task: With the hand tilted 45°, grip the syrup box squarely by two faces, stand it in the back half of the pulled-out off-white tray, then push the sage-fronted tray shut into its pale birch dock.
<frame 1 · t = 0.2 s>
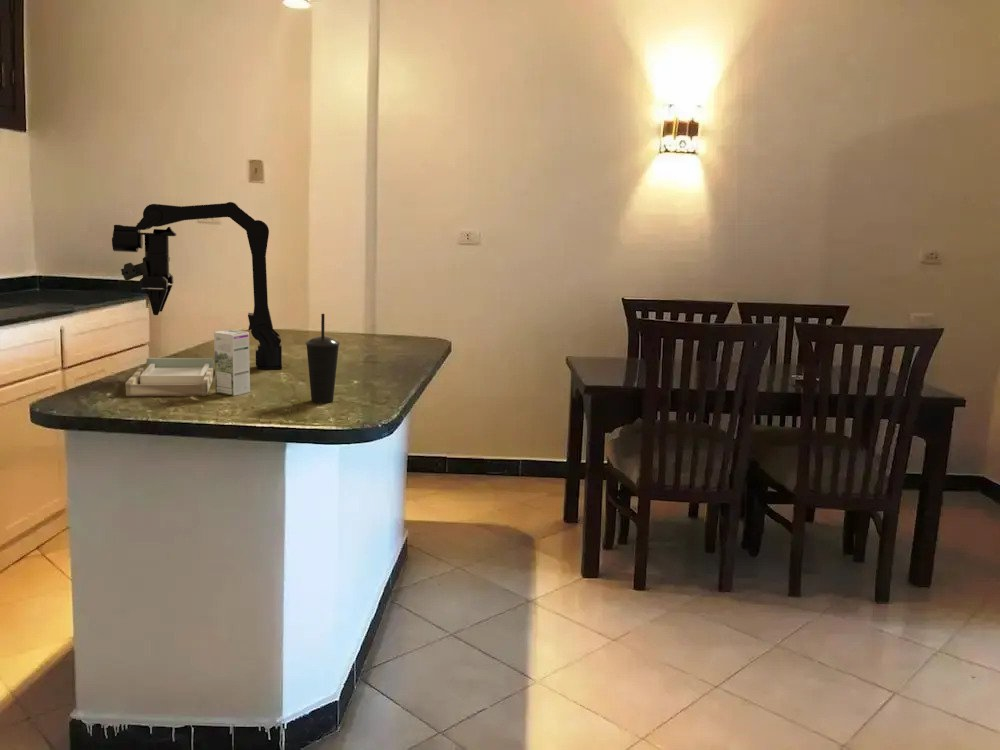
hand: (157, 313, 216), 15 cm above the countertop, tool pointing down, fingers open, 9 cm apart
drinking cup: (322, 402, 188), on the countertop
tray: (176, 370, 203), point 2 cm above the countertop, slide at 8.0 cm
dock: (172, 386, 196), on the countertop
syrup box: (232, 393, 192), on the countertop
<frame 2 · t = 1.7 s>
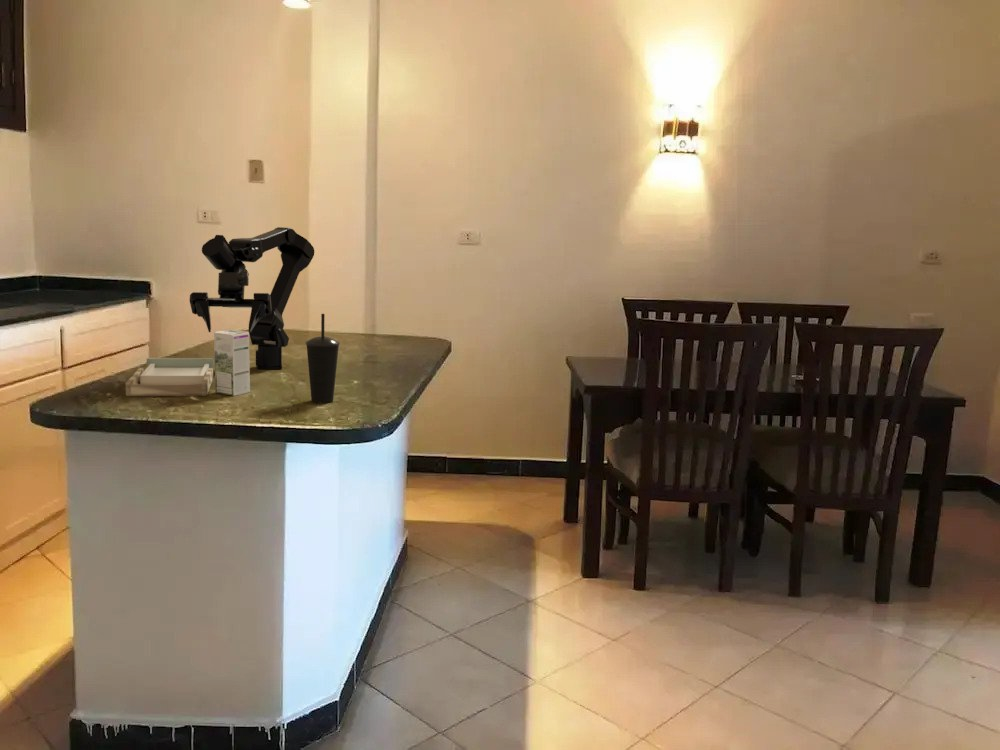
hand: (229, 331, 197), 13 cm above the countertop, tool tilted 45°, fingers open, 9 cm apart
nothing on the countertop moved.
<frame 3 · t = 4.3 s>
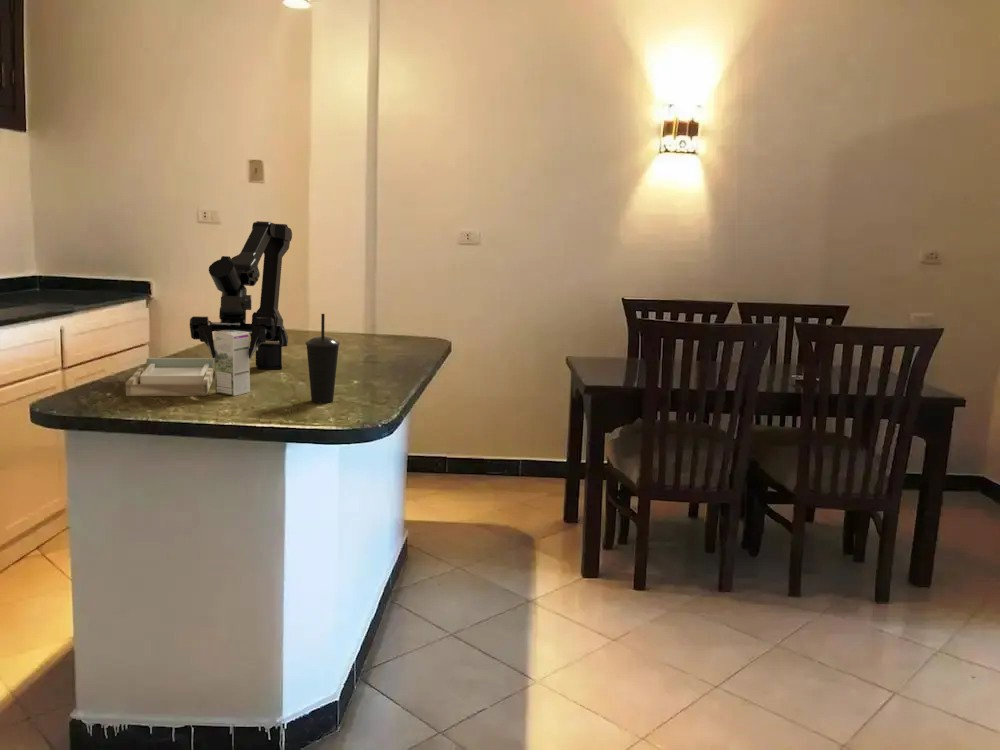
hand: (231, 357, 189), 9 cm above the countertop, tool tilted 45°, fingers closed on syrup box, 8 cm apart
syrup box: (232, 393, 192), on the countertop, touching gripper
everything else where it was.
when the fingers open (11 cm above the countertop, at t = 8.5 s): syrup box stays where it is, resting on tray.
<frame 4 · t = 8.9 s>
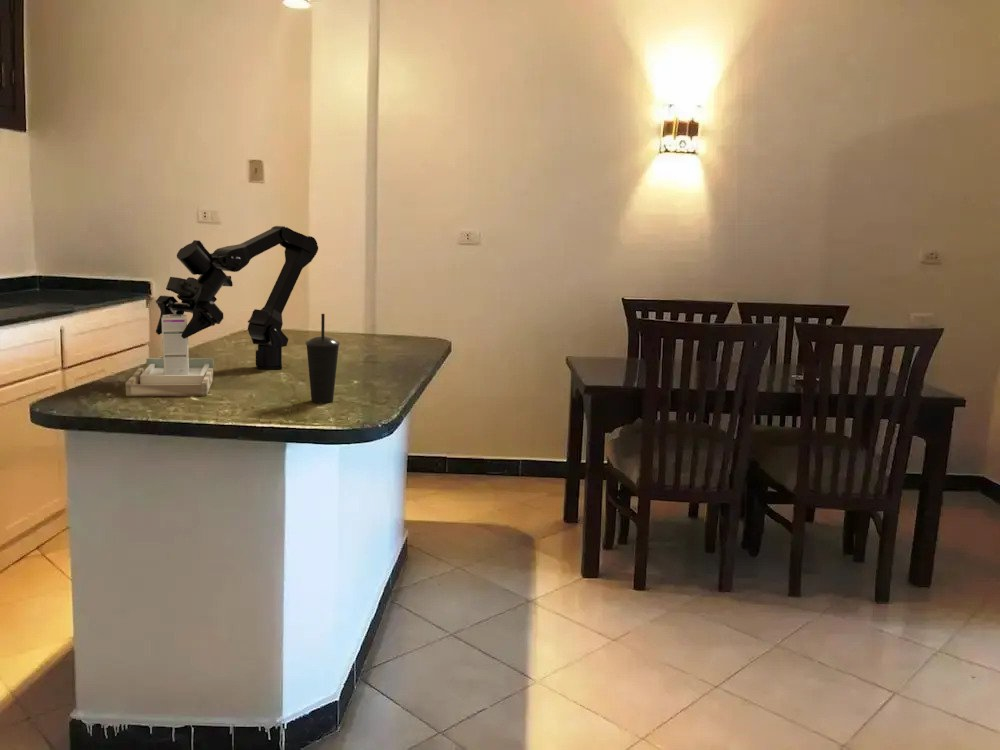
hand: (169, 335, 198), 12 cm above the countertop, tool tilted 45°, fingers open, 9 cm apart
tray: (176, 370, 203), point 2 cm above the countertop, slide at 7.9 cm, touching syrup box
syrup box: (176, 375, 201), point 2 cm above the countertop, touching tray
everything else where it was.
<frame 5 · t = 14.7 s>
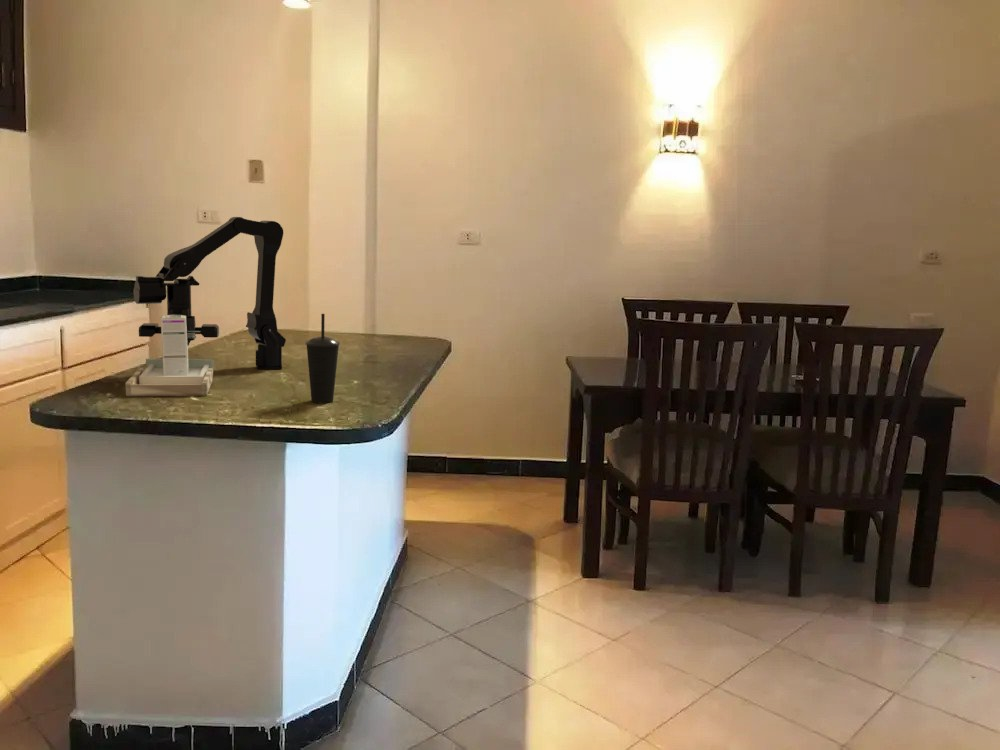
hand: (180, 363, 211), 3 cm above the countertop, tool pointing down, fingers closed
tray: (176, 371, 202), point 2 cm above the countertop, slide at 6.8 cm, touching gripper, syrup box
syrup box: (175, 376, 200), point 2 cm above the countertop, touching tray
everything else where it was.
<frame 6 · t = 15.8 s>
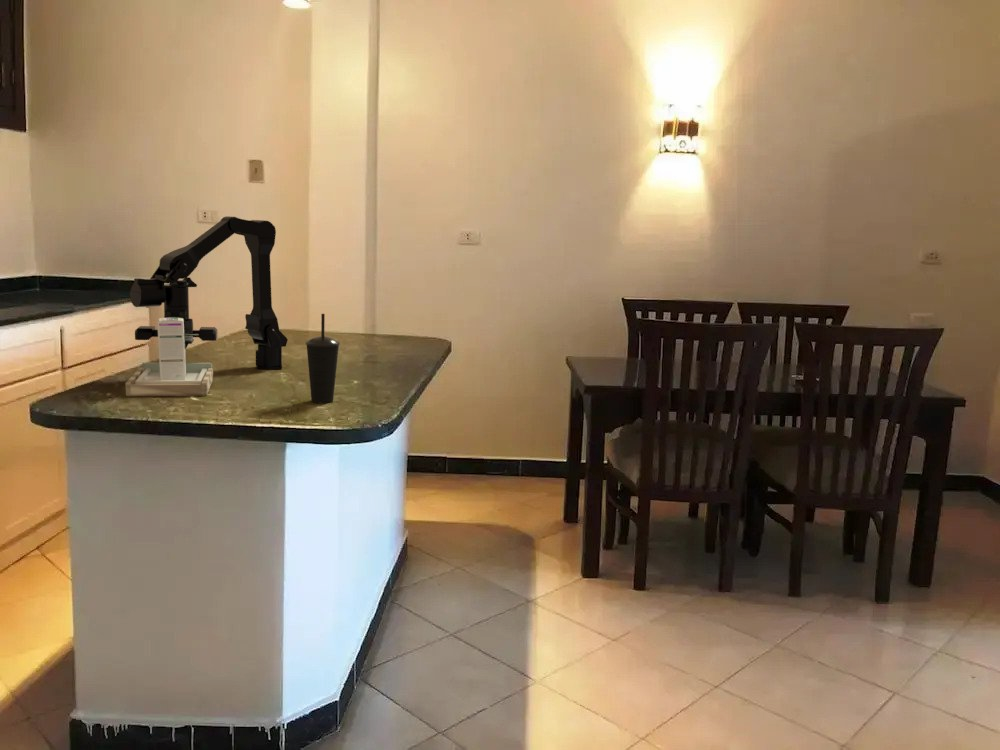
hand: (177, 367, 206), 3 cm above the countertop, tool pointing down, fingers closed, pressing on tray
tray: (173, 375, 196), point 2 cm above the countertop, slide at 1.0 cm, touching gripper, syrup box
syrup box: (172, 380, 195), point 2 cm above the countertop, touching tray
everything else where it was.
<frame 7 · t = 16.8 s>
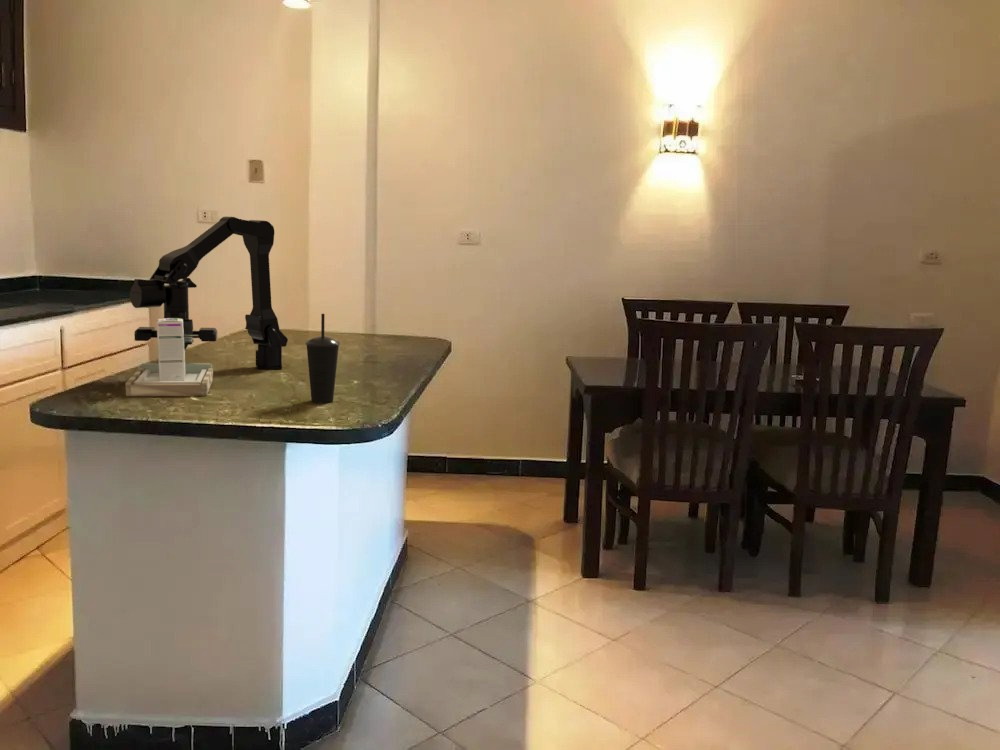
hand: (177, 368, 205), 3 cm above the countertop, tool pointing down, fingers closed
tray: (172, 376, 195), point 2 cm above the countertop, slide at 0.0 cm, touching syrup box
syrup box: (172, 381, 194), point 2 cm above the countertop, touching tray
everything else where it was.
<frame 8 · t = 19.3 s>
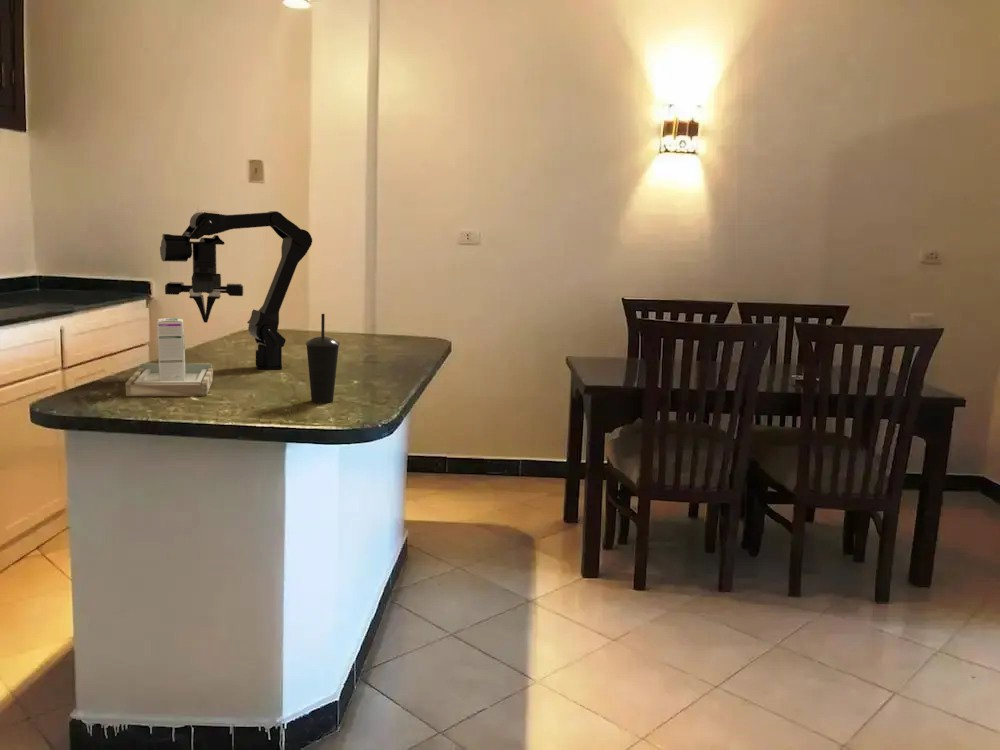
hand: (205, 322, 214), 13 cm above the countertop, tool pointing down, fingers closed
nothing on the countertop moved.
at the end: tray slide at 0.0 cm; syrup box inside the target area on the dock (0.3 cm from its centre), point 1.6 cm above the dock's base; syrup box tilted 0° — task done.
